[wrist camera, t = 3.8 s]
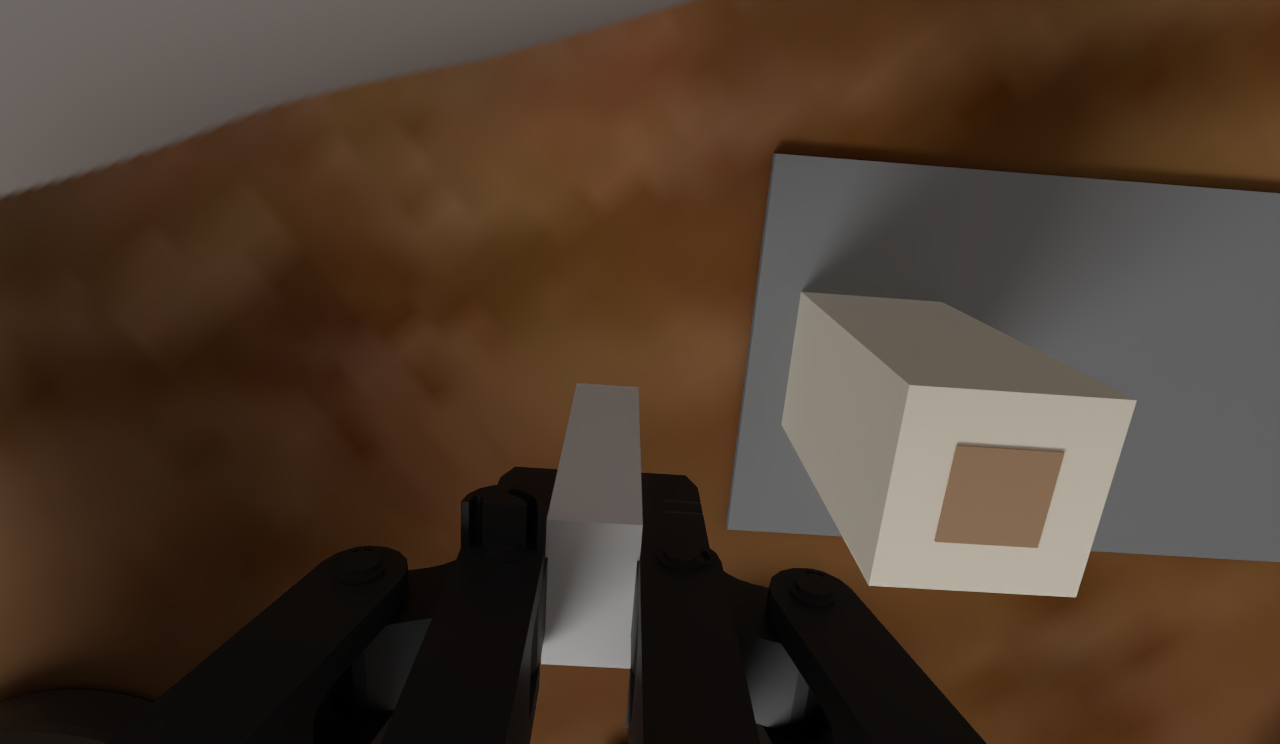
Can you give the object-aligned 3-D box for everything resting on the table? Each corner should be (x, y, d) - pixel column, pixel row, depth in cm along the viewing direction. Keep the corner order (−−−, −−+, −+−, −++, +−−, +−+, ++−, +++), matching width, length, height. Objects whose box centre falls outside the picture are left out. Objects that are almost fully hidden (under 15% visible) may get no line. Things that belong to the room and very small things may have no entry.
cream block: (781, 424, 26) (869, 587, 17) (801, 291, 25) (910, 386, 15) (914, 433, 26) (1077, 599, 17) (942, 301, 25) (1138, 401, 15)
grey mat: (726, 524, 28) (727, 529, 27) (773, 153, 24) (775, 153, 23) (1312, 559, 29) (1321, 564, 28) (1460, 207, 24) (1473, 208, 24)
